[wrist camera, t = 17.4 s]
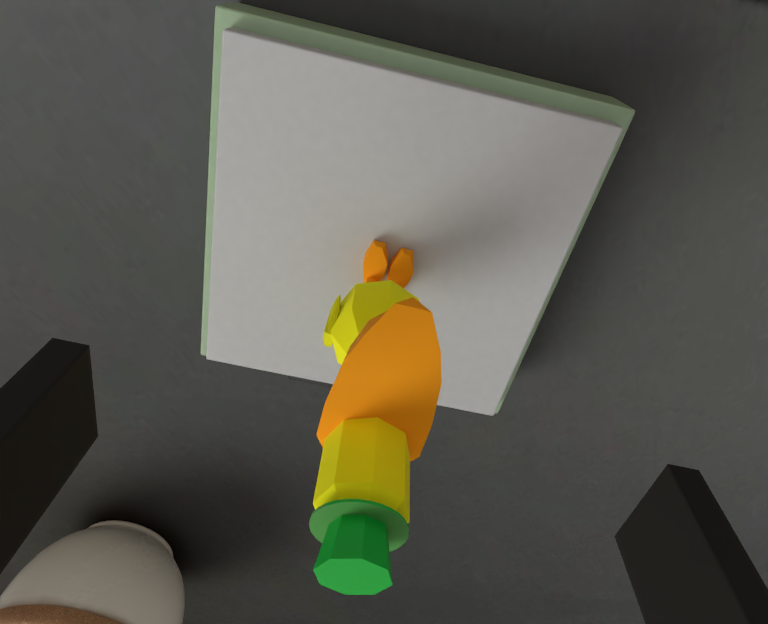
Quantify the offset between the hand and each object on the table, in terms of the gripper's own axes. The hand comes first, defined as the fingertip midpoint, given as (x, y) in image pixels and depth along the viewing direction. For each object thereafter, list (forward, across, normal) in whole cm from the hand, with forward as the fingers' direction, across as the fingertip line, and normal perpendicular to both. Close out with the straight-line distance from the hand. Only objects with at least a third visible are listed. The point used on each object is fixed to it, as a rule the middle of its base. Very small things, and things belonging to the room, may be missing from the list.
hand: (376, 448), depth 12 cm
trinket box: (+13, -12, -27) cm, 32 cm away
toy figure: (+10, 0, 0) cm, 10 cm away
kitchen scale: (+12, 0, 0) cm, 13 cm away
